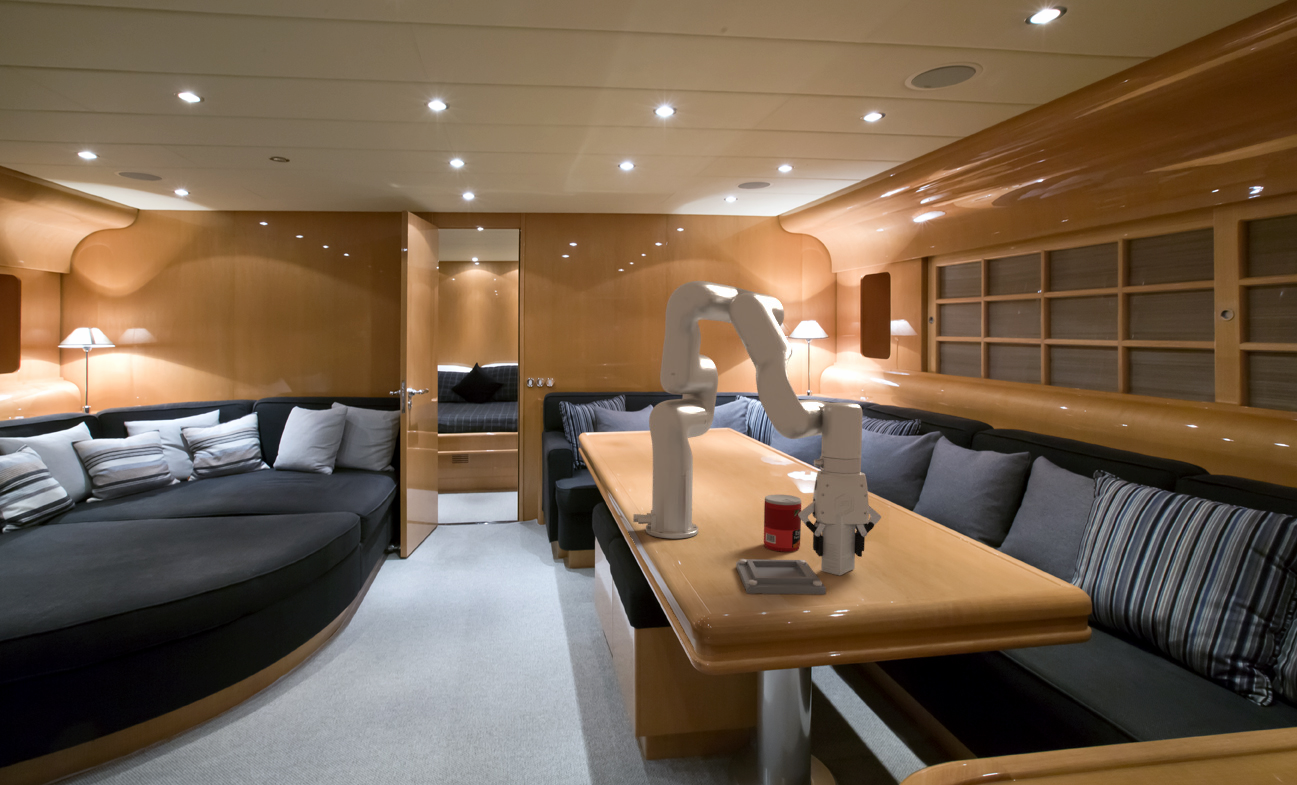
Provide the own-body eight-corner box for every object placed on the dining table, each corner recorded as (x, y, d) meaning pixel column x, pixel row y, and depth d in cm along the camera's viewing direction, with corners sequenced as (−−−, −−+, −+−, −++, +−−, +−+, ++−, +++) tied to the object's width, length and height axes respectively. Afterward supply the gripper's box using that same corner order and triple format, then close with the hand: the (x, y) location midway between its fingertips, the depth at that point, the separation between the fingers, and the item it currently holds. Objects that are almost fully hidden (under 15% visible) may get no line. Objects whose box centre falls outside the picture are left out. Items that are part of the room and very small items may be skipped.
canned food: (800, 553, 137) (802, 503, 137) (763, 550, 139) (764, 500, 138) (799, 543, 145) (800, 495, 144) (763, 540, 147) (764, 493, 146)
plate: (747, 593, 114) (747, 581, 114) (736, 567, 128) (736, 556, 128) (825, 594, 114) (825, 582, 114) (806, 568, 128) (806, 557, 128)
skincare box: (835, 564, 131) (837, 506, 130) (854, 569, 128) (856, 510, 127) (819, 570, 126) (821, 511, 126) (839, 576, 123) (841, 515, 123)
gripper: (801, 468, 122) (798, 560, 123) (892, 469, 122) (889, 561, 123) (792, 461, 130) (790, 548, 131) (878, 462, 130) (875, 549, 131)
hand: (838, 553), depth 127 cm, fingers closed on skincare box, 7 cm apart
